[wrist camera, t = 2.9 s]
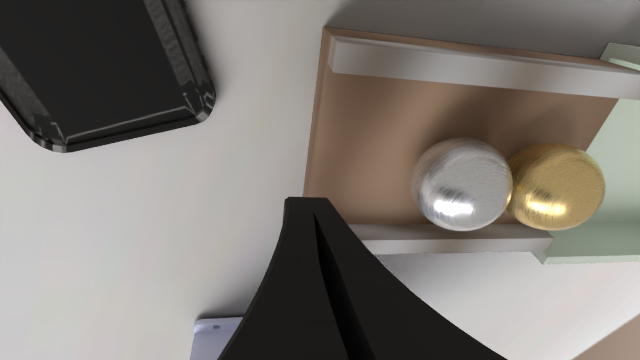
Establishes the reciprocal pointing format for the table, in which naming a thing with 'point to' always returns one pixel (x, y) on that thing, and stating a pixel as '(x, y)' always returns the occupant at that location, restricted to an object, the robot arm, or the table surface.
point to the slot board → (441, 127)
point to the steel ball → (461, 184)
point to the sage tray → (609, 186)
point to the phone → (101, 70)
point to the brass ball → (555, 186)
